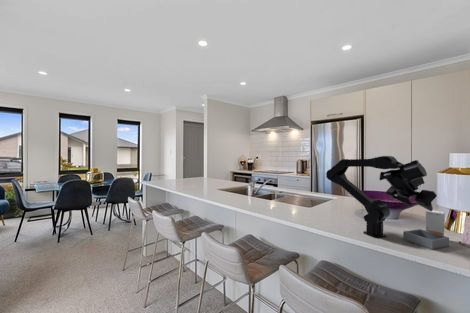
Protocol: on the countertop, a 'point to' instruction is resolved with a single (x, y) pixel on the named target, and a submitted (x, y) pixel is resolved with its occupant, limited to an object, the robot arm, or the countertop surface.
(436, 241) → the tray
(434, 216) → the skincare box
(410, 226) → the countertop surface
